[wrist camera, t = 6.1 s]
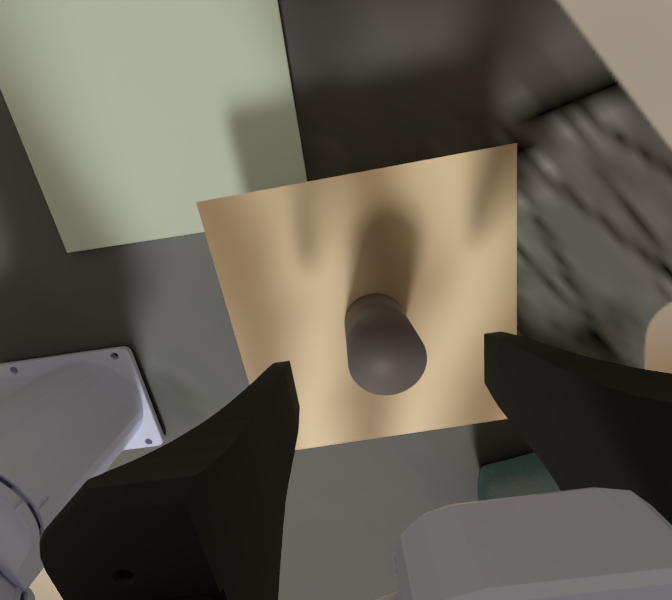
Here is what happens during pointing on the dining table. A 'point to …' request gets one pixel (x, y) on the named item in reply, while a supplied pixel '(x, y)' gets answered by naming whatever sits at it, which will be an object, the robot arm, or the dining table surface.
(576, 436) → the robot arm
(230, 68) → the mat
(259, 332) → the lid
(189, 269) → the dining table surface
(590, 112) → the dining table surface
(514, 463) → the flower pot
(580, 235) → the dining table surface
